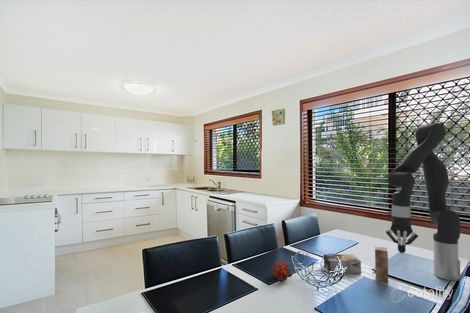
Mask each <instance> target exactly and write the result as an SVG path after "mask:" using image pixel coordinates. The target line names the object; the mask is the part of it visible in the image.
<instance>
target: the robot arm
mask: <svg viewBox="0 0 470 313" xmlns="http://www.w3.org/2000/svg"><path fill="white" fill-rule="evenodd" d="M414 135H415V136H414V137H415V140H416V144H417V146H416V147H415V148H413V149H412V150H411V151H410V152H408V154H406V156H405V157H404V158H403V160H402V162H401V164H399V165H398V166H397V167H395V168H394V169H393V170H392V171H390V173H389V174H388V177H387V183H388V184H389V185H390V186H391V187H394V188H401V189H400V190H399V191H396V192H393V193H392V195H391V203H392V204H391V226H390V228H389V229H386V230H385V233H386V235H387V236H388V237H389V238H390V239H391V241H392V242H393V243H394V244H397V250H398V252H399V253H400V254H404V253H406V245H409V246H410V245H411V244H412V243H413V242H414V241H415V240H416V239H418V237H419V235H418V233H415V232H414V231H413V228H412V209H411V196H412V193H413V189H414V186H415V184H416V179H415V177H414V175H413V174H416V172H418V170H419V168H421V165H422V171H423V176H424V182H425V186H426V187H425V188H426V193H427V198H428V213H429V218H430V220H431V222H432V223H433V224H435V225H436V226H437V230H436V231H437V232H434V233H433V234H432V235H433V236H432V238H433V245H432V246H433V272H434V276H436V277H438V278H439V279H442V280H446V281H452V282H454V281H455V282H456V281H459V282H460V279H461V280H462V276H461V274H462V273H461V259H459V239H460V237H461V218H460V216H459V214H458V212H456V211H454V210H452V209H449V208H448V206H447V200H446V193H447V191H448V187H449V183H450V181H449V174H448V168H447V166H446V164H444V162H443V161H441V159H440V158H439V157H438V156H437V155H436V154H435V152H434V150H435V149H436V147H437V146H439V145H440V144H441V142H442V141H443V140H444V139H445V137H446V135H447V130H446V127H445V125H443V124H442V123H439V122H436V123H430V124H423V125H421V126H418V127H417V128H416V129H415V134H414ZM395 236H396V237H395ZM409 236H410V237H409ZM408 237H409V238H408ZM407 238H408V239H407Z"/></svg>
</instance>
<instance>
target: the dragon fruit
mask: <svg viewBox="0 0 470 313" xmlns="http://www.w3.org/2000/svg"><path fill="white" fill-rule="evenodd" d="M272 269H273V272H272V273H273V276H274V277H275V278H276V279H277V280H278V279H280V280H281V279H283V280H281V281H282V282H283V281H287V280H288V278H292V276H293V274H292V273H291V272H290V271H291V269H290V267H289V264H288V263H287V262H284V261H283V260H281V261H276V263H274V265H273V266H272ZM281 281H280V282H281Z"/></svg>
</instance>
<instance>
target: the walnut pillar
mask: <svg viewBox="0 0 470 313" xmlns="http://www.w3.org/2000/svg"><path fill="white" fill-rule="evenodd" d="M374 260H375V262H374V264H375V265H374V267H375V269H374V270H375V282H379V283H383V284H389V254H388V248H387V247H383V246H374Z"/></svg>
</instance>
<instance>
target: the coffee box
mask: <svg viewBox="0 0 470 313" xmlns="http://www.w3.org/2000/svg"><path fill="white" fill-rule="evenodd" d="M337 256H338V257H339V259H340V260H341V261H342V266H343V268H345V267H346V266H347V269H346V273H345V274H362V261H361V260H360V259H359V258H358V257H357V256H355V255H354V254H353V253H352V254H347V253H345V254H344V253H343V254H341V253H340V254H337V253H335V254H334V253H333V254H331V253H329V254H327V253H326V254H323V267H324V268H325V269H326V268H327V269H328V270H329V271H334V270H335V268H336V266H337V265H338V263H339V261H338V258H337ZM339 268H340V265H339V266H338V269H339ZM327 269H326V270H327ZM328 270H327V271H328ZM329 271H328V272H329Z"/></svg>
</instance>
